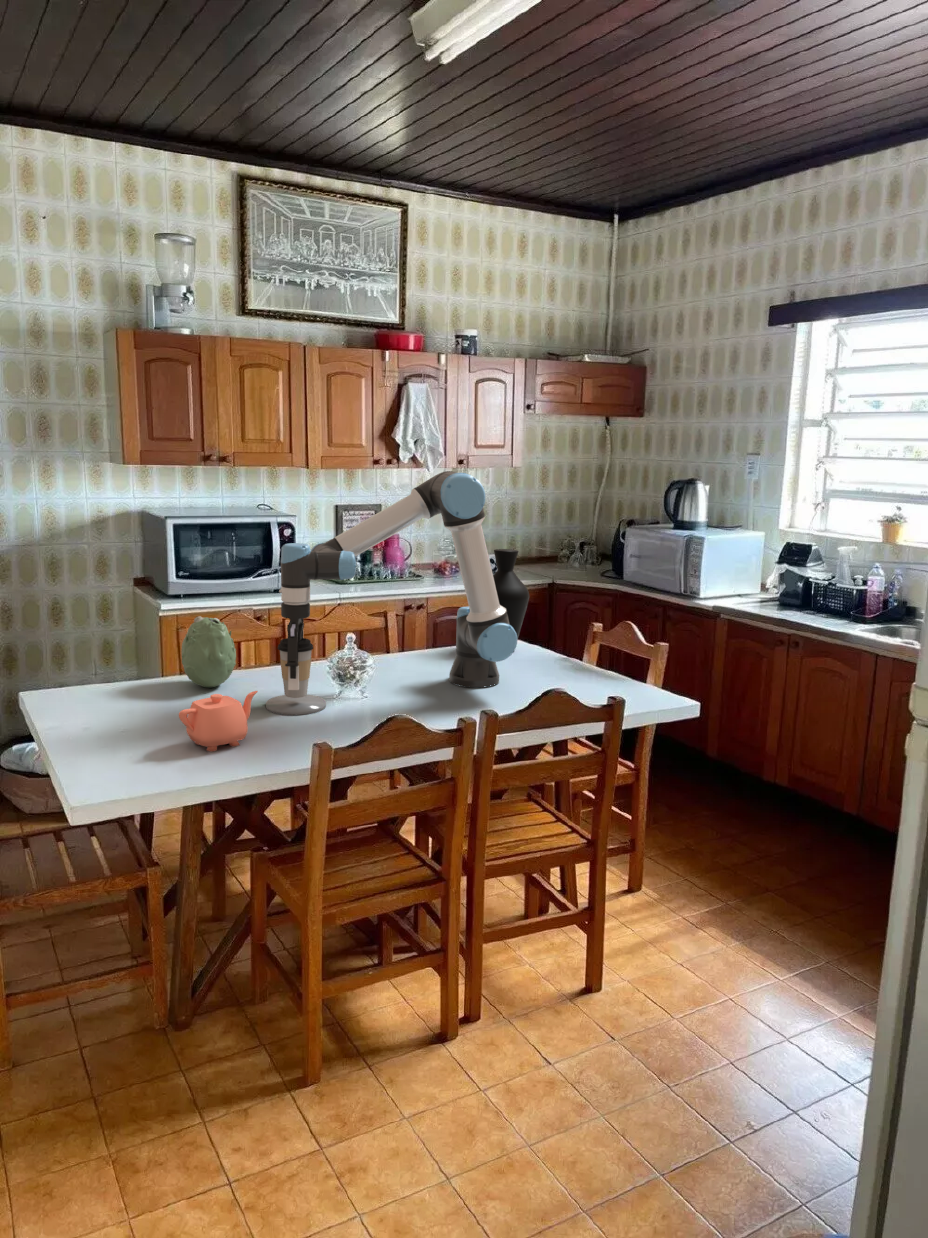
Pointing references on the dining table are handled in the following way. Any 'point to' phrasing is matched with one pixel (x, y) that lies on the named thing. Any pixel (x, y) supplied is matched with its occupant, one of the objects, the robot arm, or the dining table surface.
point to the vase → (510, 588)
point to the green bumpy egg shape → (208, 652)
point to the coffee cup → (303, 663)
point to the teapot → (217, 720)
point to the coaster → (295, 705)
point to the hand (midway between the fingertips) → (295, 684)
